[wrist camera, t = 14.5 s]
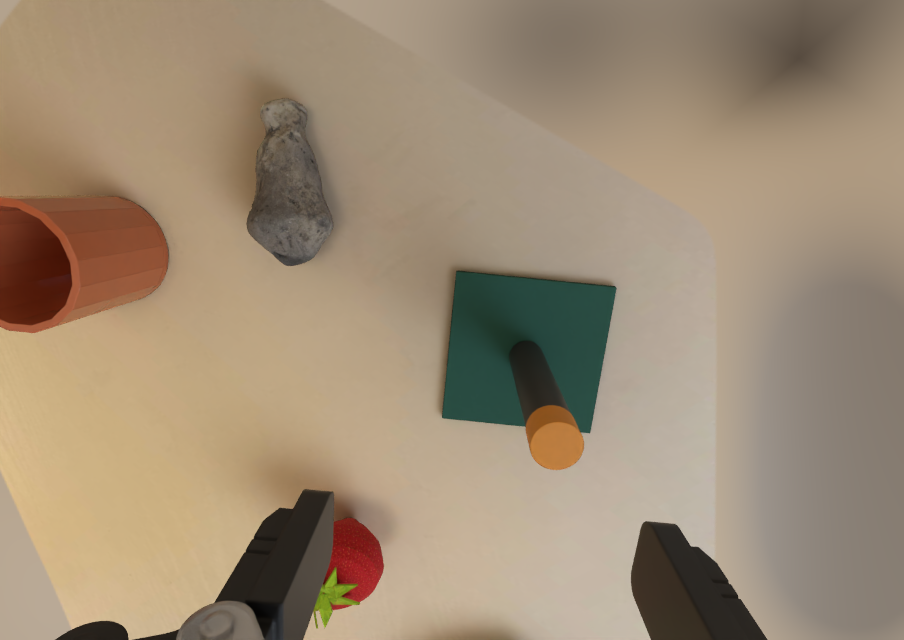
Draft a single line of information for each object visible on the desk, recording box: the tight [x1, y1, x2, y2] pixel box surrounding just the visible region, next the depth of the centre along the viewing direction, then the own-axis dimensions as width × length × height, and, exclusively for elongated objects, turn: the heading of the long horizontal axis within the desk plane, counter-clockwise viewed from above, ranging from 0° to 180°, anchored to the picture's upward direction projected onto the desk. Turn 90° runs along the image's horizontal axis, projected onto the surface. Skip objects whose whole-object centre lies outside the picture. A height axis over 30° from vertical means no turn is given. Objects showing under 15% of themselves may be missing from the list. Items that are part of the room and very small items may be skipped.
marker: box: [509, 341, 584, 470], centre depth 32 cm, size 3×3×14 cm
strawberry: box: [313, 518, 384, 629], centre depth 38 cm, size 6×8×10 cm
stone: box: [247, 99, 333, 266], centre depth 34 cm, size 10×5×8 cm
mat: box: [442, 271, 616, 433], centre depth 39 cm, size 12×12×1 cm
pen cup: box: [0, 195, 168, 333], centre depth 33 cm, size 8×8×9 cm
